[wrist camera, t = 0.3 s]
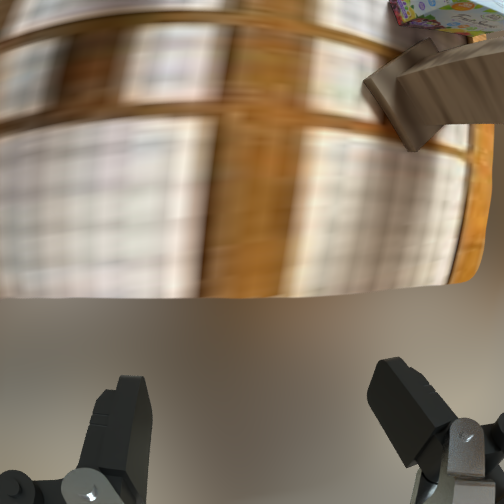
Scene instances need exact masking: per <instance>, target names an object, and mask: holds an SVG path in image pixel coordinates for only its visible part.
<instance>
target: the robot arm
mask: <svg viewBox="0 0 504 504" xmlns="http://www.w3.org/2000/svg"><path fill="white" fill-rule="evenodd" d="M367 400H368V404H369V405H370V407H371V409H372V411H373V412H374V414H375V416H376V418H377V419H378V421H379V422H380V424H381V426H382V428H383V429H384V431H385V433H386V434H387V436H388V438H389V440H390V441H391V443H392V444H393V446H394V448H395V450H396V451H397V453H398V455H399V457H400V458H401V460H402V462H403V463H404V465H405V467H406V468H408V467H411V466H413V465H416V464H418V465H419V467H420V468H419V470H418V471H417V474H416V479H415V484H414V488H413V493H412V497H411V501H410V504H504V472H503V470H502V469H501V467H500V466H499V463H500V462H501V460H503V458H504V413H502V414H501V415H500V416H499V418H498V419H497V421H496V422H495V423H493V424H488V425H481V426H480V425H479V424H478V423H477V422H476V421H474V420H472V419H469V418H458V417H457V416H456V415H455V414H454V412H453V411H452V410H451V409H450V407H449V406H448V405H447V404H446V403H445V401H444V400H443V399H442V398H441V397H440V395H439V394H438V393H437V392H435V389H434V388H433V387H432V386H431V385H429V382H428V381H427V380H426V378H425V377H424V376H423V375H422V374H421V373H419V372H418V371H416V370H414V369H413V368H411V367H410V368H409V367H408V366H407V364H406V363H405V362H404V361H403V360H402V359H401V358H400V357H393V358H388V359H383V360H380V361H379V362H378V363H377V365H376V369H375V371H374V374H373V377H372V380H371V382H370V385H369V388H368V391H367ZM152 421H153V420H152V408H151V403H150V399H149V395H148V391H147V387H146V382H145V379H144V377H143V376H129V375H121V376H120V377H119V381H118V384H117V388H116V390H107V389H106V390H105V391H104V392H103V393H102V395H101V396H100V397H99V398H98V399H97V400H96V403H95V406H94V410H93V415H92V416H91V420H90V426H88V430H87V433H86V437H85V441H84V444H83V448H82V452H81V456H80V460H79V463H78V466H77V467H76V469H75V470H72V471H70V472H69V473H68V474H67V475H66V476H65V477H64V478H63V479H59V480H43V481H32V480H31V479H30V478H29V477H28V476H27V475H26V474H25V473H23V472H21V471H17V470H8V471H5V472H3V473H2V474H1V475H0V504H146V494H147V478H148V465H149V452H150V442H151V432H152Z"/></svg>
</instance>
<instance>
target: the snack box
mask: <svg viewBox="0 0 504 504" xmlns="http://www.w3.org/2000/svg"><path fill="white" fill-rule="evenodd" d="M389 2H390V4H391V6H392V9H393V11H394V13H395V16H396V19H397V21H398V24H399V26H407V27H417V28H425V29H432V30H439V31H445V32H451V33H456V34H460V35H465V36H470V37H474V36H478V35H482V34H486V33H491V32H496V31H501V30H504V0H389Z"/></svg>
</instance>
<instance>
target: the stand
mask: <svg viewBox="0 0 504 504" xmlns="http://www.w3.org/2000/svg"><path fill="white" fill-rule="evenodd" d="M363 81H364V83H365V84H366V86H367V87H368V89H369V90H370V91H371V93H372V94H373V96H374V97H375V99H376V100H377V102H378V103H379V105H380V106H381V108H382V109H383V111H384V112H385V114H386V116H387V117H388V119H389V120H390V122H391V124H392V125H393V127H394V129H395V130H396V132H397V134H398V135H399V137H400V139H401V140H402V142H403V144H404V146H405V147H406V149H407V151H408V152H417V151H418V150H419V149H420V148H421V147H422V146H423V145H424V144H425V143H426V142H427V141H428V140H429V139H430V138H431V137H432V136H433V135H434V134H435V133H436V132H437V131H438V130H439V129H440V128H441V127H442V126H443V125H446V124H504V36H502V37H498V38H493V39H488V40H484V41H480V42H475V43H471V44H467V45H464V46H460V47H456V48H453V49H449V50H445V51H442V52H439V51H438V49H437V48H436V46H435V45H434V43H433V42H432V40H431V39H430V38H428V39H425V40H422V41H421V42H419V43H418V44H416V45H414V46H413V47H411V48H410V49H408V50H407V51H405V52H404V53H402V54H401V55H399V56H398V57H396V58H395V59H393V60H392V61H390V62H389V63H387V64H386V65H385V66H383V67H382V68H380V69H379V70H377V71H376V72H375V73H373V74H372V75H370V76H369V77H367V78H366V79H365V80H363Z"/></svg>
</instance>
